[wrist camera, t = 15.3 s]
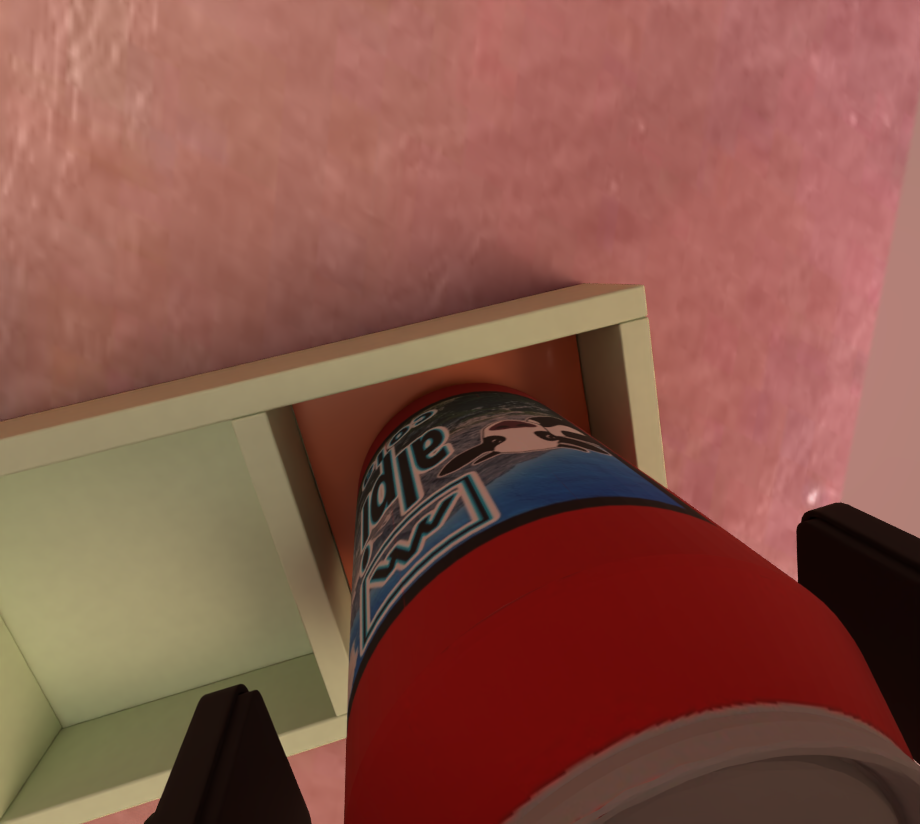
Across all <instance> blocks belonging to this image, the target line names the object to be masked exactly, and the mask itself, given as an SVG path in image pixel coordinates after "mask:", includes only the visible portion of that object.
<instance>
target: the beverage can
mask: <svg viewBox="0 0 920 824" xmlns="http://www.w3.org/2000/svg"><path fill="white" fill-rule="evenodd" d="M344 824H920V766H919V765H917V764H916V763H915V762H914V759H913V757H912V755H911V753H910V750H909V748H908V746H907V744H906V742H905V740H904V738H903V736H902V734H901V732H900V730H899V728H898V726H897V724H896V722H895V720H894V718H893V716H892V714H891V712H890V710H889V708H888V706H887V703H886V701H885V699H884V697H883V695H882V693H881V691H880V689H879V687H878V685H877V683H876V681H875V679H874V677H873V675H872V673H871V671H870V669H869V667H868V665H867V663H866V661H865V659H864V657H863V655H862V653H861V651H860V650H859V648H858V646H857V644H856V643H855V641H854V639H853V638H852V637H851V635H850V634H849V632H848V631H847V629H846V628H845V627H844V625H843V624H842V623H841V621H840V620H839V619H838V617H837V616H836V615H835V614H834V613H833V612H832V611H831V610H830V609H829V608H828V607H827V606H826V605H825V604H824V603H823V602H822V601H821V600H820V599H819V598H817V597H816V596H815V595H814V594H813V593H811V592H810V591H809V590H807V589H806V588H805V587H803V586H802V585H801V584H799V583H798V582H796V581H795V580H794V579H792V578H791V577H789V576H788V575H787V574H785V573H784V572H782V571H781V570H780V569H778V568H777V567H776V566H774V565H773V564H771V563H770V562H769V561H767V560H766V559H764V558H763V557H762V556H760V555H759V554H758V553H756V552H755V551H753V550H752V549H751V548H749V547H748V546H746V545H745V544H744V543H742V542H741V541H739V540H738V539H737V538H735V537H734V536H733V535H731V534H730V533H728V532H727V531H726V530H724V529H723V528H721V527H720V526H719V525H717V524H716V523H714V522H713V521H712V520H710V519H709V518H708V517H706V516H705V515H703V514H702V513H701V512H699V511H698V510H696V509H695V508H694V507H692V506H691V505H690V504H688V503H687V502H685V501H684V500H683V499H681V498H680V497H678V496H677V495H676V494H674V493H673V492H671V491H670V490H668V489H667V488H666V487H664V486H663V485H661V484H660V483H658V482H657V481H656V480H654V479H653V478H651V477H650V476H648V475H647V474H645V473H644V472H643V471H641V470H640V469H638V468H637V467H635V466H634V465H633V464H631V463H630V462H628V461H627V460H625V459H624V458H622V457H621V456H620V455H618V454H617V453H615V452H614V451H612V450H611V449H609V448H608V447H607V446H605V445H604V444H602V443H601V442H599V441H598V440H597V439H595V438H594V437H592V436H591V435H589V434H588V433H586V432H585V431H584V430H582V429H581V428H579V427H578V426H576V425H575V424H573V423H572V422H570V421H569V420H567V419H566V418H564V417H563V416H561V415H559V414H558V413H556V412H555V411H553V410H552V409H550V408H549V407H547V406H546V405H544V404H543V403H541V402H540V401H538V400H537V399H535V398H534V397H532V396H530V395H528V394H526V393H524V392H522V391H519V390H517V389H514V388H510V387H507V386H503V385H498V384H491V383H465V384H458V385H453V386H449V387H445V388H442V389H439V390H436V391H433V392H431V393H428V394H426V395H424V396H422V397H420V398H418V399H417V400H415V401H413V402H412V403H410V404H409V405H407V406H406V407H405V408H403V409H402V410H401V411H399V412H398V413H397V414H396V415H395V416H394V417H393V418H392V419H391V420H390V421H389V422H388V423H387V424H386V425H385V426H384V427H383V429H382V430H381V431H380V433H379V434H378V435H377V437H376V438H375V440H374V442H373V443H372V445H371V447H370V449H369V451H368V453H367V455H366V457H365V460H364V462H363V466H362V469H361V472H360V477H359V482H358V492H357V505H356V519H355V535H354V554H353V572H352V594H351V618H350V643H349V668H348V701H347V737H346V773H345V809H344Z"/></svg>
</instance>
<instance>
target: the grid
mask: <svg viewBox="0 0 920 824" xmlns="http://www.w3.org/2000/svg"><path fill="white" fill-rule="evenodd" d="M645 316H647V305H646V296H645V288H644V286H643V285H635V284H590V283H583V284H579V285H575V286H570V287H566V288H562V289H558V290H554V291H549V292H545V293H541V294H537V295H532V296H528V297H524V298H520V299H516V300H511V301H507V302H503V303H499V304H495V305H490V306H486V307H482V308H478V309H473V310H469V311H465V312H461V313H457V314H452V315H448V316H444V317H440V318H435V319H431V320H427V321H423V322H419V323H414V324H410V325H406V326H402V327H397V328H393V329H389V330H385V331H381V332H376V333H372V334H368V335H364V336H359V337H355V338H351V339H347V340H343V341H338V342H334V343H330V344H326V345H321V346H317V347H313V348H309V349H305V350H300V351H296V352H292V353H288V354H283V355H279V356H275V357H271V358H267V359H262V360H258V361H254V362H250V363H245V364H241V365H237V366H233V367H229V368H224V369H220V370H216V371H212V372H207V373H203V374H199V375H195V376H191V377H186V378H182V379H178V380H174V381H169V382H165V383H161V384H157V385H153V386H148V387H144V388H140V389H136V390H131V391H127V392H123V393H119V394H115V395H110V396H106V397H102V398H98V399H93V400H89V401H85V402H81V403H77V404H72V405H68V406H64V407H60V408H55V409H51V410H47V411H43V412H39V413H34V414H30V415H26V416H22V417H18V418H13V419H9V420H5V421H1V422H0V824H82V823H85V822H88V821H91V820H94V819H97V818H100V817H104V816H107V815H110V814H113V813H116V812H119V811H122V810H125V809H128V808H131V807H134V806H138V805H141V804H144V803H147V802H150V801H153V800H156V799H159V798H161V796H162V793H163V791H164V788H165V786H166V783H167V781H168V778H169V775H170V773H171V770H172V768H173V765H174V763H175V760H176V758H177V755H178V753H179V750H180V747H181V745H182V742H183V740H184V737H185V735H186V732H187V730H188V727H189V725H190V722H191V719H192V717H193V714H194V712H195V709H196V707H197V704H198V702H199V700H200V698H201V697H202V696H204V695H205V694H208V693H212V692H215V691H218V690H221V689H225V688H228V687H231V686H235V685H238V684H244V685H245V686H246V687H247V689H248V691H253V690H258V691H259V692H260V693H261V695H262V697H263V700H264V702H265V705H266V707H267V710H268V712H269V715H270V717H271V720H272V722H273V725H274V727H275V730H276V732H277V735H278V737H279V739H280V742H281V744H282V747H283V749H284V752H285V754H286V757H289V756H292V755H295V754H298V753H301V752H304V751H307V750H310V749H314V748H317V747H320V746H323V745H326V744H329V743H332V742H335V741H338V740H341V739H344V738H346V737H347V701H348V668H349V643H350V618H351V594H352V572H353V554H354V535H355V519H356V505H357V492H358V482H359V477H360V472H361V469H362V466H363V462H364V460H365V457H366V455H367V453H368V451H369V449H370V447H371V445H372V443H373V442H374V440H375V438H376V437H377V435H378V434H379V433H380V431H381V430H382V429H383V427H384V426H385V425H386V424H387V423H388V422H389V421H390V420H391V419H392V418H393V417H394V416H395V415H396V414H397V413H398V412H399V411H401V410H402V409H403V408H405V407H406V406H407V405H409V404H410V403H412V402H413V401H415V400H417V399H418V398H420V397H422V396H424V395H426V394H428V393H431V392H433V391H436V390H439V389H442V388H445V387H449V386H453V385H458V384H465V383H491V384H498V385H503V386H507V387H510V388H514V389H517V390H519V391H522V392H524V393H526V394H528V395H530V396H532V397H534V398H535V399H537V400H538V401H540V402H541V403H543V404H544V405H546V406H547V407H549V408H550V409H552V410H553V411H555V412H556V413H558V414H559V415H561V416H563V417H564V418H566V419H567V420H569V421H570V422H572V423H573V424H575V425H576V426H578V427H579V428H581V429H582V430H584V431H585V432H586V433H588V434H589V435H591V436H592V437H594V438H595V439H597V440H598V441H599V442H601V443H602V444H604V445H605V446H607V447H608V448H609V449H611V450H612V451H614V452H615V453H617V454H618V455H620V456H621V457H622V458H624V459H625V460H627V461H628V462H630V463H631V464H633V465H634V466H635V467H637V468H638V469H640V470H641V471H643V472H644V473H645V474H647V475H648V476H650V477H651V478H653V479H654V480H656V481H657V482H658V483H660V484H661V485H663V486H664V487H666V488H667V482H666V473H665V464H664V454H663V445H662V436H661V427H660V418H659V409H658V400H657V391H656V382H655V373H654V364H653V355H652V346H651V337H650V328H649V319H648V317H645Z"/></svg>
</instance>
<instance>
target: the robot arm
mask: <svg viewBox="0 0 920 824" xmlns="http://www.w3.org/2000/svg"><path fill="white" fill-rule="evenodd" d="M796 534H797V565H798V583H799V584H801V585H802V586H803V587H805V588H806V589H807V590H809V591H810V592H811V593H813V594H814V595H815V596H816V597H817V598H819V599H820V600H821V601H822V602H823V603H824V604H825V605H826V606H827V607H828V608H829V609H830V610H831V611H832V612H833V613H834V614H835V615H836V616H837V617H838V619H839V620H840V621H841V623H842V624H843V625H844V627H845V628H846V629H847V631H848V632H849V634H850V635H851V637H852V638H853V639H854V641H855V643H856V644H857V646H858V648H859V650H860V651H861V653H862V655H863V657H864V659H865V661H866V663H867V665H868V667H869V669H870V671H871V673H872V675H873V677H874V679H875V681H876V683H877V685H878V687H879V689H880V691H881V693H882V695H883V697H884V699H885V701H886V703H887V706H888V708H889V710H890V712H891V714H892V716H893V718H894V720H895V722H896V724H897V726H898V728H899V730H900V732H901V734H902V736H903V738H904V740H905V742H906V744H907V746H908V748H909V750H910V753H911V755H912V757H913V759H914V760H915V761H916V762H917V763H919V764H920V538H917V537H916V536H914V535H911V534H909V533H907V532H905V531H903V530H901V529H898V528H896V527H894V526H892V525H890V524H888V523H886V522H884V521H882V520H880V519H877V518H875V517H873V516H871V515H869V514H867V513H865V512H862V511H860V510H858V509H856V508H854V507H852V506H850V505H847V504H844V503H833V504H830V505H827V506H824V507H820V508H817V509H814V510H810V511H808V512H806V513H804V515H803V517H802V520H801V523H800V524H799V525H798V526H797V531H796ZM144 824H311V818H310V814H309V811H308V809H307V806H306V804H305V801H304V799H303V796H302V794H301V791H300V789H299V786H298V784H297V782H296V779H295V777H294V774H293V772H292V769H291V767H290V764H289V762H288V759H287V757H286V754H285V752H284V749H283V747H282V744H281V742H280V739H279V737H278V735H277V732H276V730H275V727H274V725H273V722H272V720H271V717H270V715H269V712H268V710H267V707H266V705H265V702H264V700H263V697H262V695H261V693H260V692H259V691H258V690H253V691H248V689H247V687H246V686H245V685H244V684H238V685H235V686H231V687H228V688H225V689H221V690H218V691H215V692H212V693H208V694H205V695H204V696H202V697H201V698H200V700H199V702H198V704H197V707H196V709H195V712H194V714H193V717H192V719H191V722H190V725H189V727H188V730H187V732H186V735H185V737H184V740H183V742H182V745H181V747H180V750H179V753H178V755H177V758H176V760H175V763H174V765H173V768H172V770H171V773H170V775H169V778H168V781H167V783H166V786H165V788H164V791H163V793H162V796H161V798H160V801H159V803H158V806H157V809H156V811H155V813H153V814H152V815H151V816H150V817H149V818H148V819H147V820H146V821H145V822H144Z"/></svg>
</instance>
